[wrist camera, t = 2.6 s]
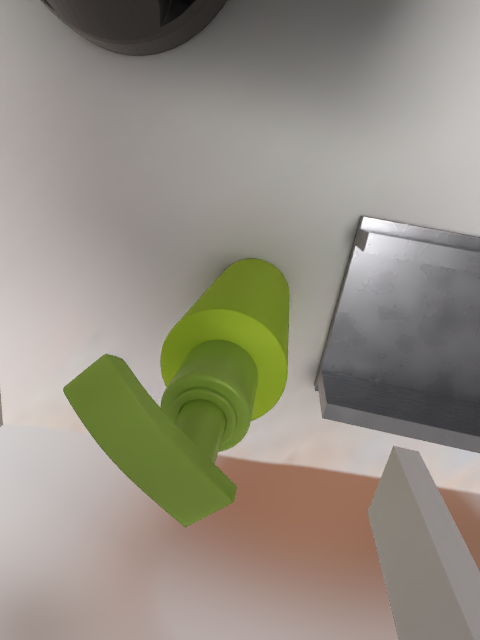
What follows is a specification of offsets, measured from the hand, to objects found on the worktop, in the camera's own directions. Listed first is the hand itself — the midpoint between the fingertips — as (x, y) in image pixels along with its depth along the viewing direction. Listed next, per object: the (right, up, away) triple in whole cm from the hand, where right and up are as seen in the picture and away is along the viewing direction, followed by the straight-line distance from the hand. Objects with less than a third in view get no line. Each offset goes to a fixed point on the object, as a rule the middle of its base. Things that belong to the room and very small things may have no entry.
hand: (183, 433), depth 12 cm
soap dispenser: (+3, +6, +17) cm, 18 cm away
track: (+20, +2, +15) cm, 25 cm away
